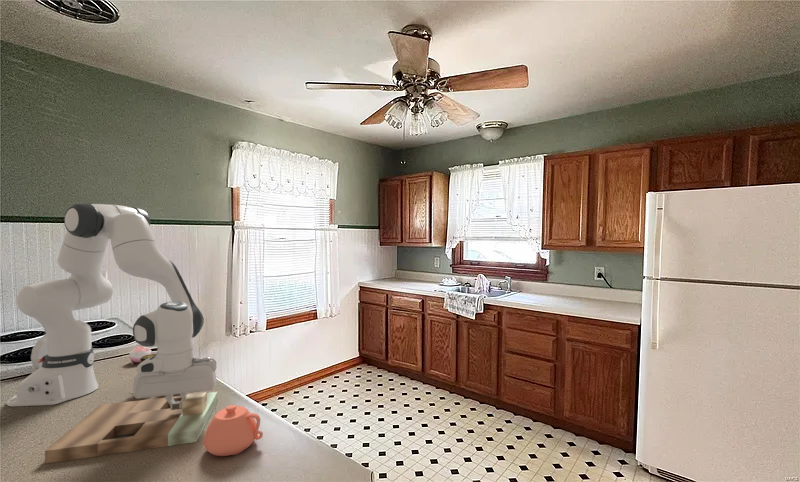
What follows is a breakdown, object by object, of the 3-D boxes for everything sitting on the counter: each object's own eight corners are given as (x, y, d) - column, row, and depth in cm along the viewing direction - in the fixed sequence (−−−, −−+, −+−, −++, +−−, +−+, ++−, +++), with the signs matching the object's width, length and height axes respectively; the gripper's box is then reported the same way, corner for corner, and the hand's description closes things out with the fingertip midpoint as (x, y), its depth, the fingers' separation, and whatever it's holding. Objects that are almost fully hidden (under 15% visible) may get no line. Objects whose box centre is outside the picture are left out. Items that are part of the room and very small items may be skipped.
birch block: (182, 416, 101) (182, 401, 101) (188, 407, 106) (187, 394, 106) (202, 413, 102) (202, 399, 102) (206, 405, 107) (206, 392, 107)
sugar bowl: (220, 433, 97) (219, 395, 97) (272, 433, 97) (271, 395, 97) (193, 461, 85) (192, 418, 85) (251, 462, 85) (251, 419, 84)
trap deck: (45, 463, 85) (44, 450, 85) (100, 414, 108) (100, 404, 108) (196, 441, 93) (196, 430, 93) (217, 400, 116) (217, 391, 116)
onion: (153, 363, 155) (153, 349, 152) (131, 370, 149) (130, 355, 147) (148, 353, 160) (147, 339, 157) (127, 360, 154) (125, 345, 152)
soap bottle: (79, 360, 157) (78, 314, 157) (86, 361, 155) (85, 315, 155) (30, 373, 142) (28, 322, 142) (37, 375, 140) (36, 324, 140)
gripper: (218, 353, 108) (219, 399, 108) (139, 360, 103) (141, 408, 103) (213, 360, 102) (214, 408, 102) (129, 367, 97) (130, 419, 97)
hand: (177, 408), depth 103 cm, fingers closed
